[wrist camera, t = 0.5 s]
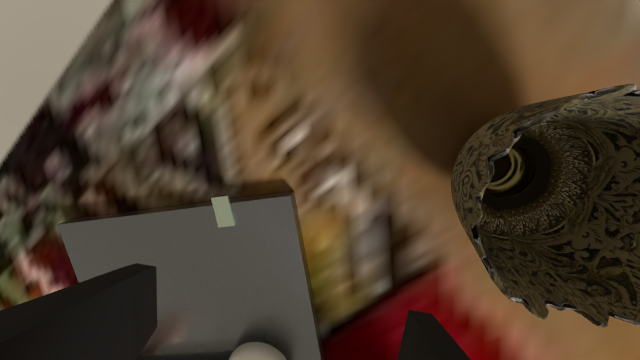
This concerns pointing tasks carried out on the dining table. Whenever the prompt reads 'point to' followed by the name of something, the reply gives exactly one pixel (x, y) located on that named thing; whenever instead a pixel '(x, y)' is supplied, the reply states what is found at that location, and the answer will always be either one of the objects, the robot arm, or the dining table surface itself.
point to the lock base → (211, 273)
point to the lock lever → (256, 352)
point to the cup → (559, 203)
